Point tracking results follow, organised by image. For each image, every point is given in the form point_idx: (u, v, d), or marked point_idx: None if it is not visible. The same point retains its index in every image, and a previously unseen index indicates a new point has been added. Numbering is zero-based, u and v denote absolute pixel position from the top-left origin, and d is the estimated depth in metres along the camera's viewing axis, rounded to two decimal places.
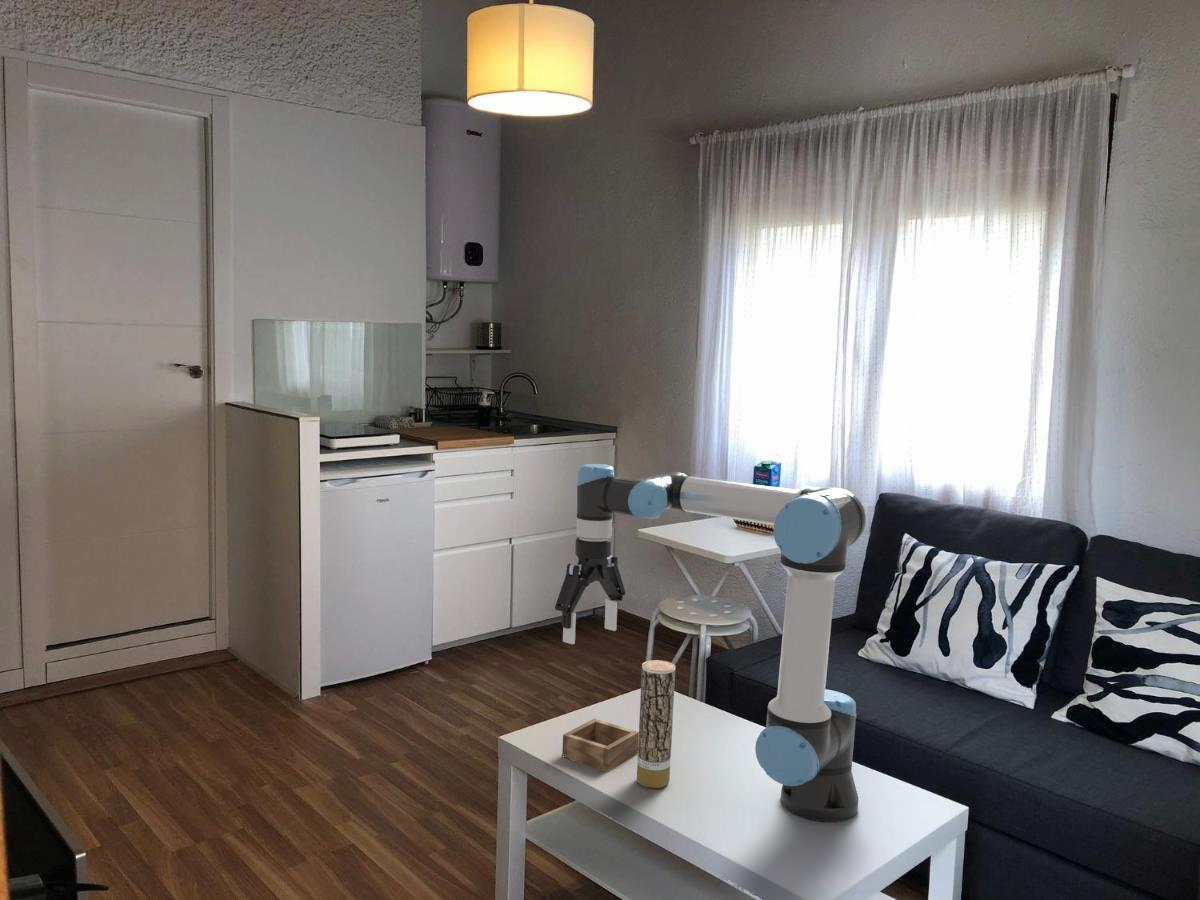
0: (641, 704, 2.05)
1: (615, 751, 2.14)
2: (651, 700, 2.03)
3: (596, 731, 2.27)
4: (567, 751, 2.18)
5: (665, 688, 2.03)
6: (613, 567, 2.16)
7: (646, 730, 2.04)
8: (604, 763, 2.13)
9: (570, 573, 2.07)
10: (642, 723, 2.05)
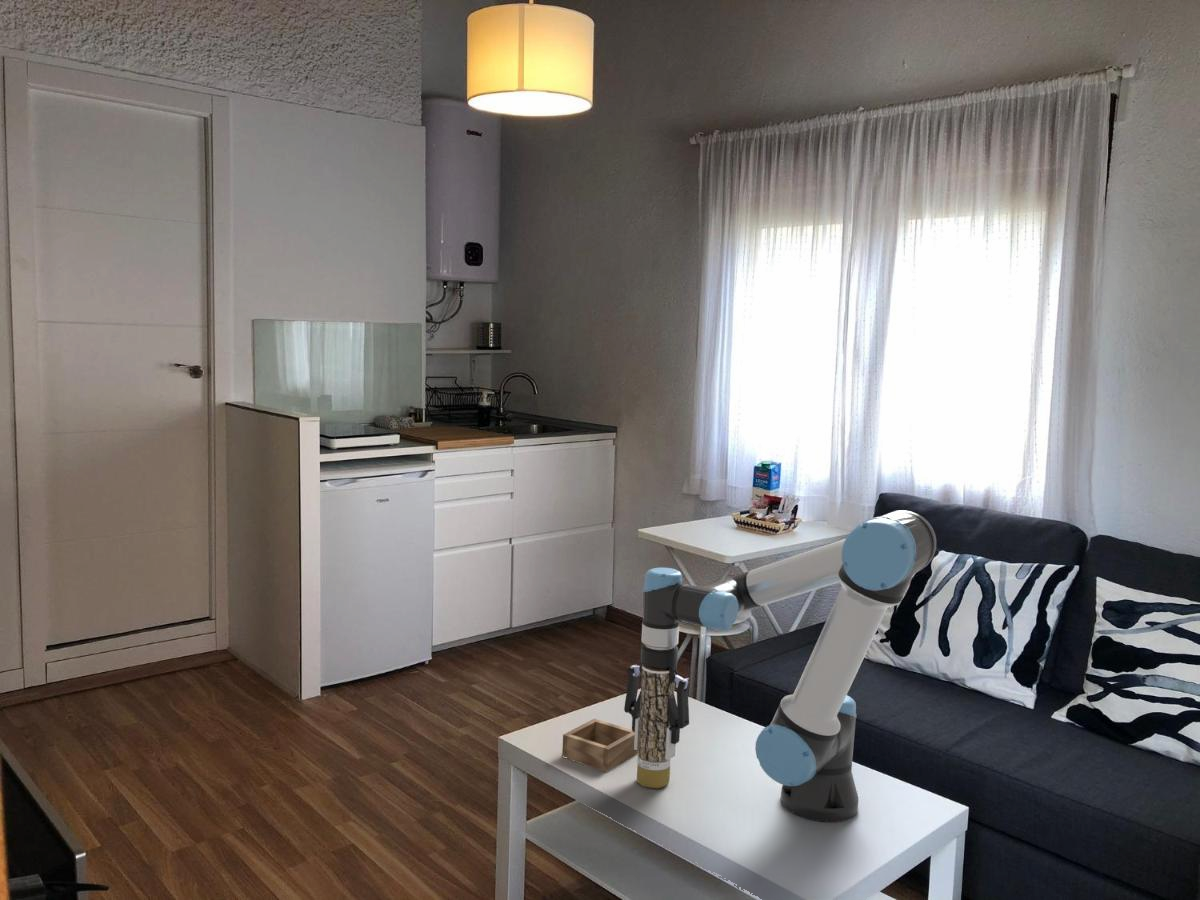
0: (641, 704, 2.05)
1: (615, 751, 2.14)
2: (651, 700, 2.03)
3: (596, 731, 2.27)
4: (567, 751, 2.18)
5: (665, 688, 2.03)
6: None
7: (646, 730, 2.04)
8: (604, 763, 2.13)
9: None
10: (642, 723, 2.05)
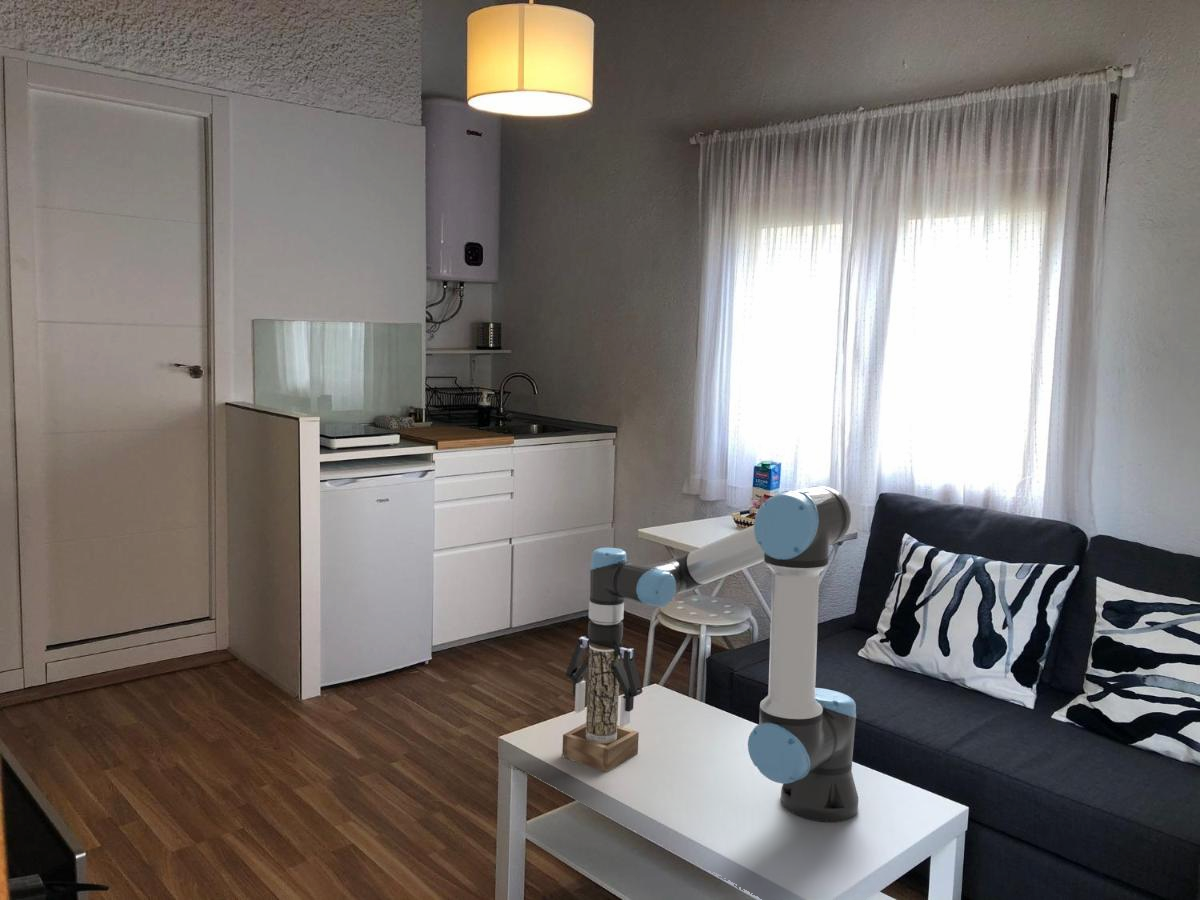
0: (588, 681, 2.17)
1: (615, 751, 2.14)
2: (597, 677, 2.15)
3: None
4: (567, 751, 2.18)
5: None
6: None
7: (593, 705, 2.16)
8: (604, 763, 2.13)
9: None
10: (589, 699, 2.17)
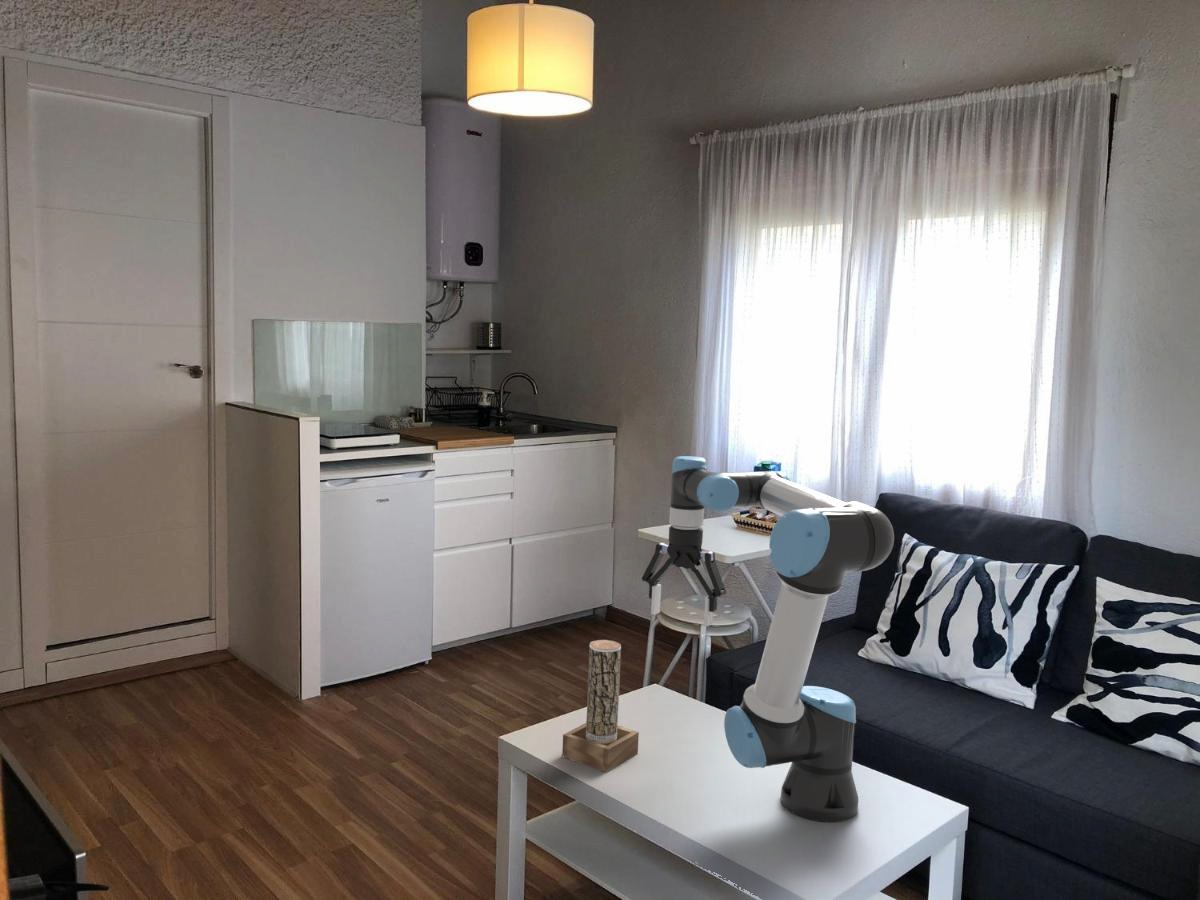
0: (589, 681, 2.17)
1: (615, 751, 2.14)
2: (598, 677, 2.15)
3: None
4: (567, 751, 2.18)
5: (611, 666, 2.15)
6: None
7: (593, 705, 2.16)
8: (604, 763, 2.13)
9: None
10: (589, 699, 2.17)
